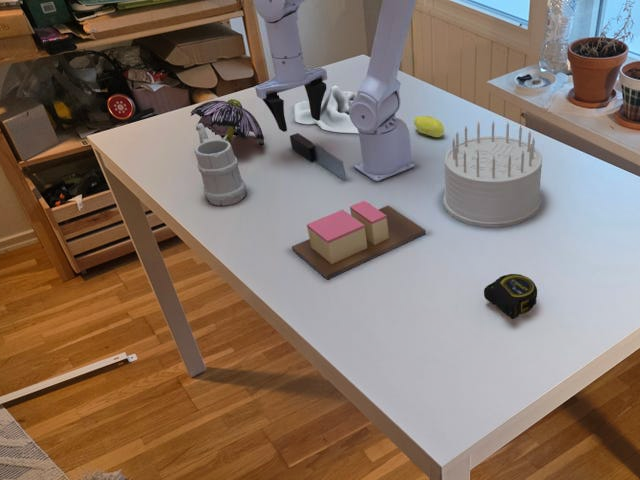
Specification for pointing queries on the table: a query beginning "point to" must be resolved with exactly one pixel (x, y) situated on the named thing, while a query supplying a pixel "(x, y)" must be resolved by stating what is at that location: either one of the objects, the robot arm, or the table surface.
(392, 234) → the board
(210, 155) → the mug
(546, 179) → the table surface
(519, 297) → the tape measure
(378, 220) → the cake slice
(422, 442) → the table surface
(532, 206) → the cake
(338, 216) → the cake
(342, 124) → the cloth
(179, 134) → the table surface
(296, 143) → the knife
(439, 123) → the lemon
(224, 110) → the decorative flower
